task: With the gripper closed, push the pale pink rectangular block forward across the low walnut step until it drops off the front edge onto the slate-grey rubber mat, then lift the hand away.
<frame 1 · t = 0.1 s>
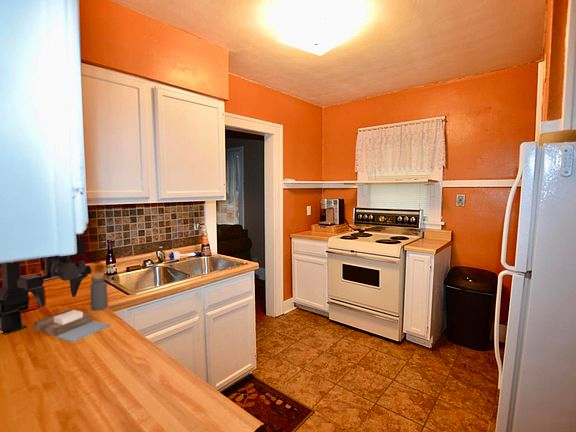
hand: (58, 301, 95), 15 cm above the countertop, tool pointing down, fingers open, 9 cm apart
bottle: (99, 308, 127), on the countertop
pale pink rectangular block: (68, 319, 108), point 3 cm above the countertop, touching step
step: (64, 326, 110), on the countertop
mat: (84, 331, 106), on the countertop
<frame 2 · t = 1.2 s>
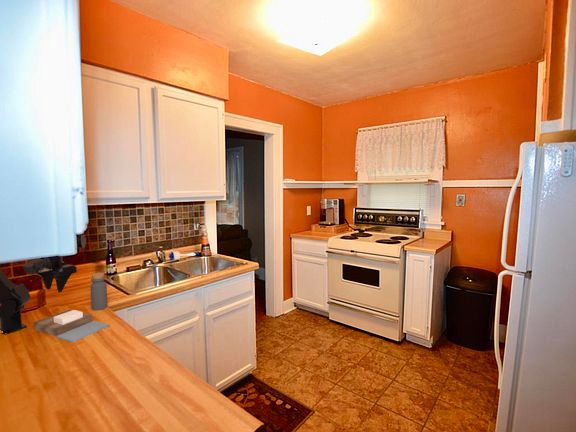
hand: (54, 290, 110), 13 cm above the countertop, tool pointing down, fingers open, 7 cm apart
nothing on the countertop moved.
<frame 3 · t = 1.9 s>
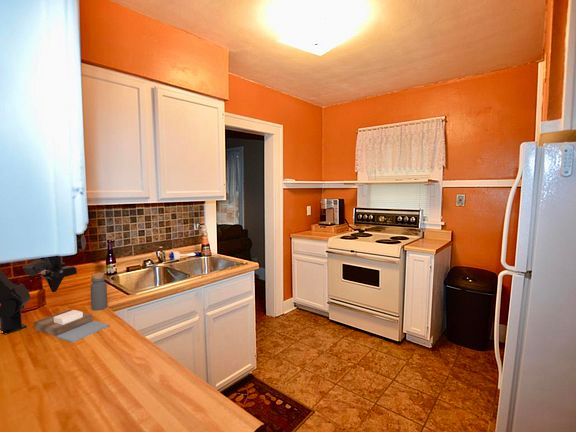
hand: (54, 291, 110), 12 cm above the countertop, tool pointing down, fingers closed
nothing on the countertop moved.
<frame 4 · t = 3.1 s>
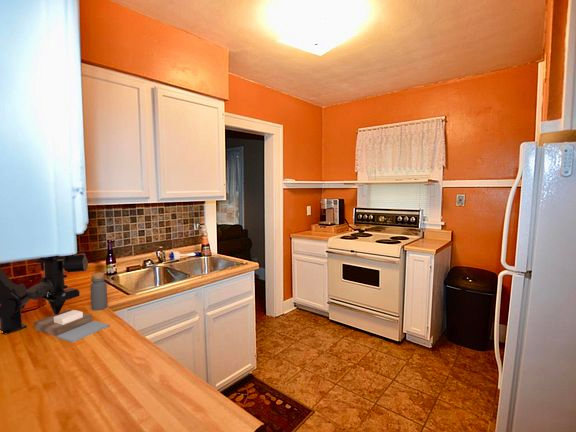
hand: (56, 313, 111), 4 cm above the countertop, tool pointing down, fingers closed
nothing on the countertop moved.
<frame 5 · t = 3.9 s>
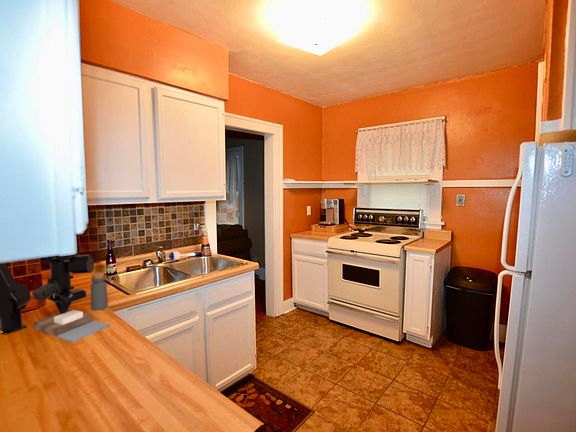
hand: (63, 315, 110), 4 cm above the countertop, tool pointing down, fingers closed
pale pink rectangular block: (68, 319, 108), point 3 cm above the countertop, touching gripper
everything else where it was.
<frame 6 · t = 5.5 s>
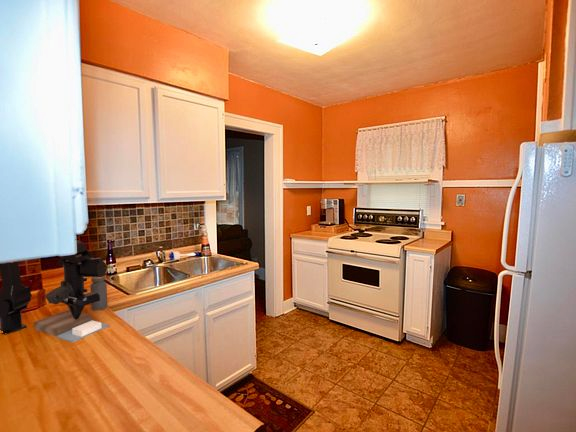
hand: (76, 318, 107), 4 cm above the countertop, tool pointing down, fingers closed
pale pink rectangular block: (87, 325, 105), point 3 cm above the countertop, tilted 180°, touching mat
everything else where it was.
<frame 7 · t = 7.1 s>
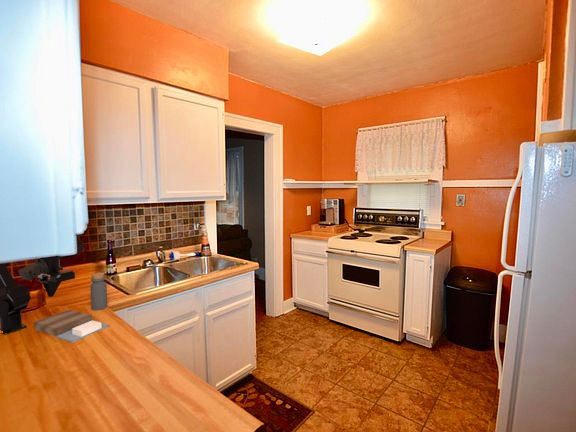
hand: (50, 296, 106), 12 cm above the countertop, tool pointing down, fingers closed
nothing on the countertop moved.
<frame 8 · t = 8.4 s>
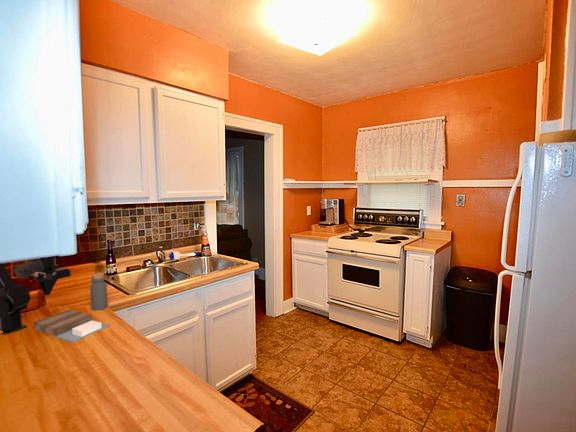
hand: (47, 295, 106), 13 cm above the countertop, tool pointing down, fingers closed
nothing on the countertop moved.
at the end: pale pink rectangular block inside the target area (1.4 cm from its centre), point 2.6 cm above the countertop; pale pink rectangular block touching mat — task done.
